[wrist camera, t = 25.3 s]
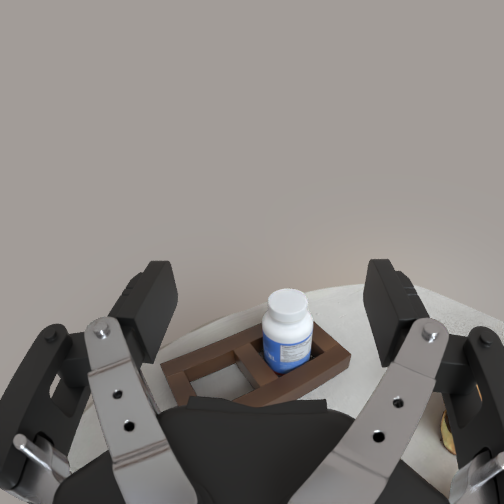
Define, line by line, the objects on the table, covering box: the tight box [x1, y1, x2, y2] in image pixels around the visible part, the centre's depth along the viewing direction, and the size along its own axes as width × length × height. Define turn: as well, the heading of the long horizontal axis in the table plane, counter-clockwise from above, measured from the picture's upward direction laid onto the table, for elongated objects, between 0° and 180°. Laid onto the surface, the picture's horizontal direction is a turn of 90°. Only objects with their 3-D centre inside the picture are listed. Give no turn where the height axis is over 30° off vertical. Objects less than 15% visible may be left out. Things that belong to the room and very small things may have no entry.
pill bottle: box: [262, 288, 313, 377], centre depth 32 cm, size 6×5×10 cm
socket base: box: [160, 321, 351, 407], centre depth 32 cm, size 11×19×2 cm, turn 119°
